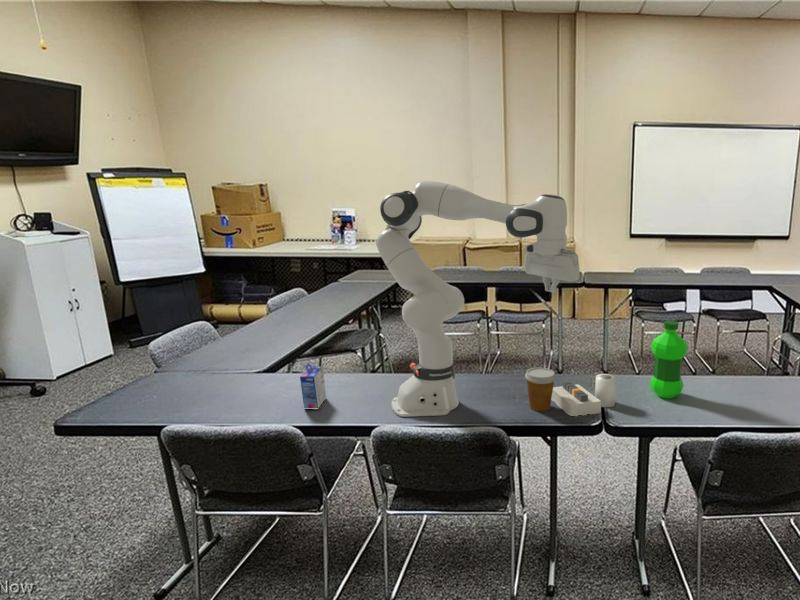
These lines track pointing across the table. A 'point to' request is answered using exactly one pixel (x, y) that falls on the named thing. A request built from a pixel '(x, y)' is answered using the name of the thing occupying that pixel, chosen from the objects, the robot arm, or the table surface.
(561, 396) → the power strip
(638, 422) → the table surface
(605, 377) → the white hollow cylinder
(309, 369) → the ink cartridge box
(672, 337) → the plastic bottle
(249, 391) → the table surface
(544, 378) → the disposable coffee cup
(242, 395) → the table surface
